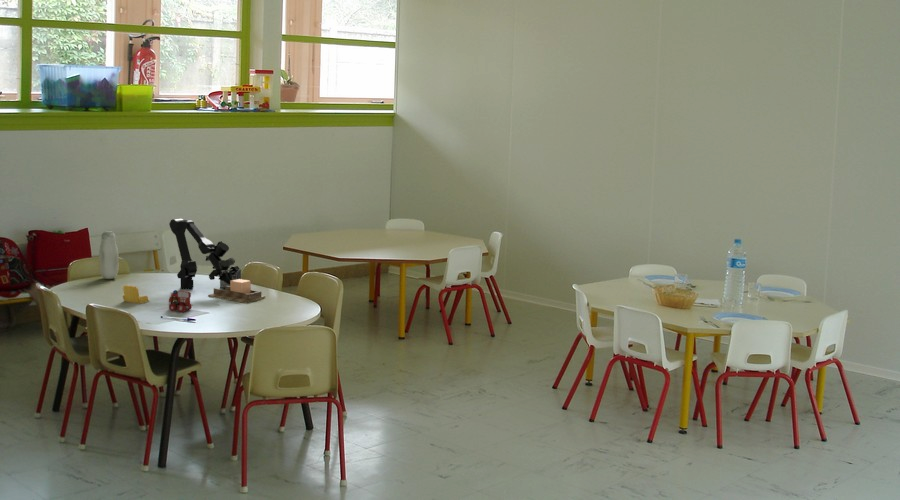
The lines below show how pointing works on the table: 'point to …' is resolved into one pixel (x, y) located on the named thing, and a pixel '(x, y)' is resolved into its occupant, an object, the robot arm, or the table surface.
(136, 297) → the yellow l-shaped block
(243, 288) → the slider block
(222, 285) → the small box
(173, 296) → the toy fire truck
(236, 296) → the tray
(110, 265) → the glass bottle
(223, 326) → the table surface
